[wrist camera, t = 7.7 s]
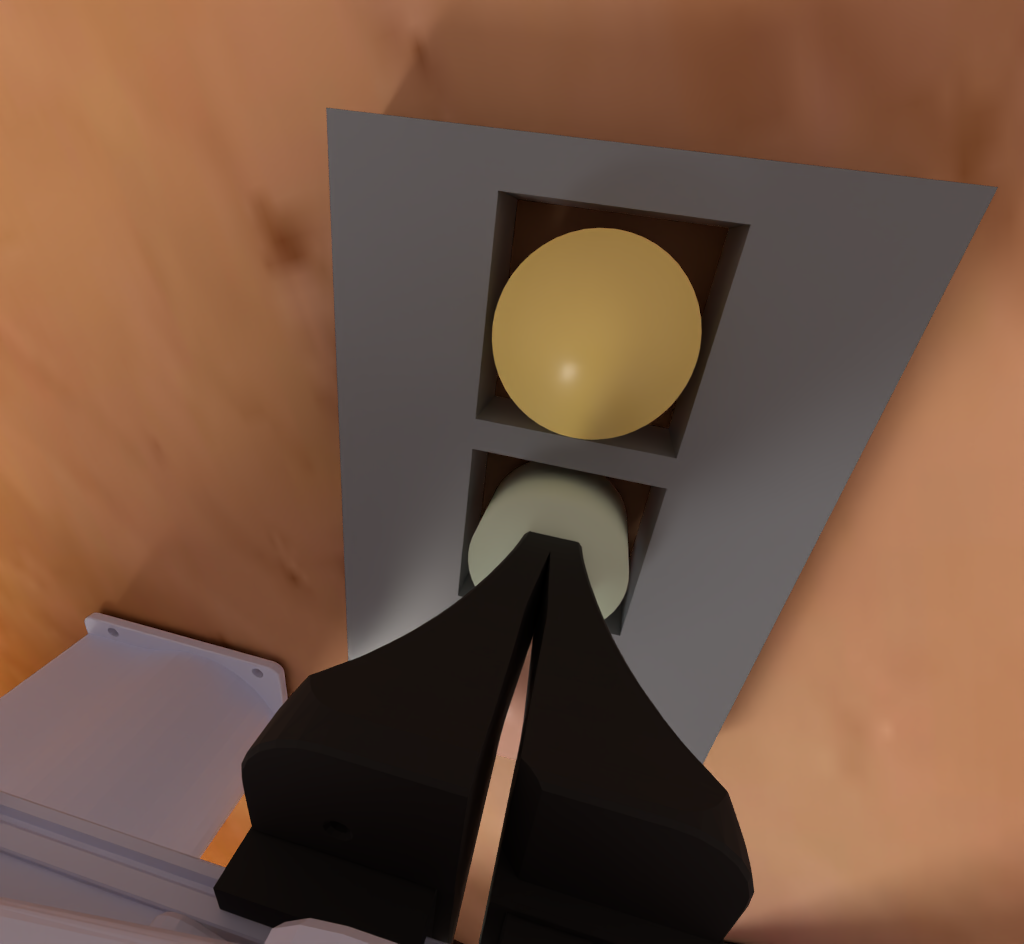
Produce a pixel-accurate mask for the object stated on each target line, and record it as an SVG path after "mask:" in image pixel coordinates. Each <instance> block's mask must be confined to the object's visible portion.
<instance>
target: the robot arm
mask: <svg viewBox="0 0 1024 944" xmlns="http://www.w3.org/2000/svg"><path fill="white" fill-rule="evenodd" d="M84 622H85V626H86V629H87V631H88V634H87V635H86V636H85V637H83V638H82V639H80V640H79V641H78V642H76V643H75V644H74V645H72V646H71V647H70V648H68V649H67V650H65V651H64V652H63V653H61V654H60V655H59V656H57V657H56V658H54V659H53V660H52V661H50V662H49V663H48V664H46V665H45V666H44V667H42V668H41V669H39V670H38V671H37V672H35V673H34V674H33V675H31V676H30V677H29V678H27V679H26V680H24V681H23V682H22V683H20V684H19V685H18V686H16V687H15V688H13V689H12V690H11V691H9V692H8V693H7V694H5V695H4V696H3V697H1V698H0V944H452V943H453V939H454V934H455V930H456V926H457V921H458V917H459V913H460V908H461V904H462V900H463V895H464V891H465V886H466V882H467V878H468V874H469V869H470V865H471V861H472V856H473V852H474V848H475V843H476V839H477V835H478V830H479V826H480V822H481V818H482V813H483V809H484V805H485V800H486V796H487V792H488V788H489V783H490V779H491V775H492V771H493V766H494V762H495V758H496V754H497V749H498V745H499V741H500V737H501V733H502V729H503V726H504V722H505V719H506V715H507V712H508V709H509V706H510V703H511V700H512V697H513V694H514V691H515V688H516V685H517V682H518V679H519V676H520V673H521V670H522V667H523V664H524V661H525V658H526V655H527V652H528V649H529V646H530V643H531V640H532V637H533V640H532V649H531V658H530V666H529V675H528V684H527V693H526V702H525V710H524V719H523V726H522V732H521V739H520V744H519V749H518V754H517V759H516V764H515V769H514V774H513V779H512V783H511V788H510V793H509V798H508V803H507V808H506V813H505V818H504V823H503V828H502V832H501V837H500V842H499V847H498V852H497V857H496V862H495V867H494V872H493V876H492V881H491V886H490V891H489V896H488V901H487V906H486V911H485V916H484V920H483V925H482V930H481V935H480V940H479V944H724V940H723V939H724V937H725V936H726V935H727V933H728V932H729V931H730V929H731V928H732V927H733V925H734V924H735V923H736V921H737V920H738V919H739V918H740V916H741V915H742V914H743V912H744V911H745V910H746V908H747V907H748V905H749V903H750V901H751V898H752V896H753V893H754V887H753V878H752V872H751V867H750V862H749V857H748V853H747V849H746V845H745V842H744V839H743V836H742V832H741V829H740V826H739V823H738V820H737V817H736V814H735V811H734V808H733V805H732V802H731V799H730V797H729V794H728V792H727V791H726V790H725V788H724V787H723V786H722V785H721V784H720V783H719V782H718V781H717V780H716V779H715V777H714V776H713V775H712V774H711V773H710V772H709V771H708V770H707V769H706V768H705V767H704V765H703V764H702V763H701V762H700V761H699V760H698V759H697V758H696V757H695V756H694V755H693V753H692V752H691V751H690V750H689V749H688V748H687V747H686V746H685V744H684V743H683V742H682V741H681V740H680V738H679V737H678V736H677V735H676V733H675V732H674V731H673V730H672V728H671V727H670V726H669V725H668V723H667V722H666V721H665V720H664V718H663V717H662V715H661V714H660V713H659V711H658V710H657V708H656V707H655V706H654V704H653V703H652V701H651V700H650V698H649V697H648V696H647V694H646V693H645V691H644V690H643V689H642V687H641V686H640V684H639V683H638V681H637V679H636V678H635V676H634V674H633V673H632V671H631V670H630V668H629V666H628V665H627V663H626V661H625V659H624V658H623V656H622V654H621V652H620V650H619V649H618V647H617V645H616V643H615V641H614V639H613V637H612V635H611V633H610V631H609V629H608V626H607V624H606V622H605V620H604V618H603V615H602V613H601V611H600V608H599V606H598V603H597V600H596V598H595V595H594V592H593V589H592V587H591V584H590V581H589V577H588V574H587V570H586V567H585V563H584V558H583V552H582V546H581V545H580V543H579V542H576V541H572V540H567V539H562V538H558V537H553V536H549V535H544V534H540V533H536V532H531V531H529V532H527V533H525V534H524V535H523V537H522V538H521V540H520V541H519V542H518V544H517V545H516V546H515V547H514V549H513V550H512V551H511V552H510V553H509V554H508V555H507V557H506V558H505V559H504V560H503V561H502V562H501V563H500V564H499V565H498V566H497V567H496V568H495V569H494V570H493V571H492V572H491V573H490V574H489V575H488V576H487V577H485V578H484V579H483V580H482V581H481V582H480V583H479V584H477V585H476V586H475V587H474V588H473V589H472V590H471V591H469V592H468V593H467V594H466V595H464V596H463V597H462V598H461V599H459V600H458V601H457V602H455V603H454V604H453V605H451V606H450V607H448V608H447V609H446V610H444V611H443V612H441V613H440V614H438V615H437V616H435V617H434V618H432V619H431V620H429V621H427V622H426V623H424V624H423V625H421V626H419V627H418V628H416V629H414V630H413V631H411V632H409V633H407V634H405V635H404V636H402V637H400V638H398V639H396V640H394V641H392V642H390V643H388V644H386V645H384V646H382V647H380V648H378V649H375V650H373V651H371V652H369V653H367V654H365V655H363V656H360V657H358V658H355V659H353V660H350V661H347V662H345V663H342V664H339V665H337V666H334V667H332V668H329V669H326V670H324V671H321V672H318V673H315V674H312V675H310V676H308V677H307V679H306V680H305V681H304V682H303V683H302V684H301V685H300V686H299V687H298V688H297V689H296V691H295V692H294V693H293V694H292V695H291V696H290V697H289V698H288V697H287V689H286V681H285V673H284V670H283V668H282V666H281V665H279V664H278V663H276V662H274V661H271V660H267V659H263V658H260V657H256V656H253V655H249V654H246V653H242V652H238V651H235V650H231V649H228V648H224V647H220V646H217V645H213V644H210V643H206V642H202V641H199V640H195V639H192V638H188V637H184V636H181V635H177V634H174V633H170V632H166V631H163V630H159V629H156V628H152V627H148V626H145V625H141V624H138V623H134V622H130V621H127V620H123V619H120V618H116V617H112V616H109V615H105V614H102V613H92V614H91V615H89V616H88V617H87V618H85V621H84ZM244 793H245V797H246V802H247V806H248V811H249V815H250V820H251V824H252V827H251V829H250V830H249V832H248V833H247V835H246V837H245V838H244V840H243V841H242V843H241V844H240V846H239V848H238V849H237V851H236V852H235V854H234V855H233V857H232V859H231V860H230V862H229V863H228V865H227V867H226V868H225V867H222V866H219V865H216V864H214V863H211V862H208V861H205V860H202V859H200V857H201V856H202V854H203V853H204V851H205V850H206V848H207V847H208V845H209V844H210V843H211V841H212V840H213V838H214V837H215V835H216V834H217V832H218V831H219V829H220V828H221V827H222V825H223V824H224V822H225V821H226V819H227V818H228V816H229V815H230V813H231V812H232V810H233V809H234V808H235V806H236V805H237V803H238V802H239V800H240V799H241V797H242V796H243V794H244Z"/></svg>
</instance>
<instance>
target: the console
mask: <svg viewBox="0 0 1024 944" xmlns="http://www.w3.org/2000/svg"><path fill="white" fill-rule="evenodd" d="M326 109H327V134H328V159H329V185H330V210H331V235H332V260H333V286H334V311H335V336H336V361H337V387H338V412H339V437H340V462H341V488H342V513H343V538H344V563H345V589H346V614H347V639H348V661H350V660H353V659H355V658H358V657H360V656H363V655H365V654H367V653H369V652H371V651H373V650H375V649H378V648H380V647H382V646H384V645H386V644H388V643H390V642H392V641H394V640H396V639H398V638H400V637H402V636H404V635H405V634H407V633H409V632H411V631H413V630H414V629H416V628H418V627H419V626H421V625H423V624H424V623H426V622H427V621H429V620H431V619H432V618H434V617H435V616H437V615H438V614H440V613H441V612H443V611H444V610H446V609H447V608H448V607H450V606H451V605H453V604H454V603H455V602H457V601H458V600H459V599H461V598H462V597H463V596H464V595H466V594H467V593H468V592H469V591H471V590H472V589H473V588H474V587H475V585H474V583H473V580H472V578H471V575H470V571H469V565H468V551H469V546H470V543H471V540H472V537H473V535H474V533H475V531H476V529H477V527H478V525H479V523H480V517H481V509H482V500H483V492H484V483H485V474H486V466H487V457H488V452H491V453H496V454H500V455H505V456H510V457H515V458H520V459H525V460H530V461H535V462H539V463H544V464H549V465H554V466H559V467H564V468H569V469H573V470H578V471H583V472H588V473H593V474H598V475H603V476H607V477H612V478H617V479H622V480H627V481H632V482H637V483H641V484H646V485H651V489H650V492H649V496H648V499H647V502H646V506H645V509H644V512H643V516H642V519H641V522H640V526H639V529H638V532H637V536H636V539H635V542H634V546H633V549H632V552H631V556H630V559H629V581H628V586H627V590H626V593H625V595H624V598H623V599H622V601H621V603H620V604H619V606H618V607H617V608H616V609H615V610H614V612H613V613H611V614H610V615H609V616H608V617H607V618H606V619H604V620H605V622H606V624H607V626H608V629H609V631H610V633H611V635H612V637H613V639H614V641H615V643H616V645H617V647H618V649H619V650H620V652H621V654H622V656H623V658H624V659H625V661H626V663H627V665H628V666H629V668H630V670H631V671H632V673H633V674H634V676H635V678H636V679H637V681H638V683H639V684H640V686H641V687H642V689H643V690H644V691H645V693H646V694H647V696H648V697H649V698H650V700H651V701H652V703H653V704H654V706H655V707H656V708H657V710H658V711H659V713H660V714H661V715H662V717H663V718H664V720H665V721H666V722H667V723H668V725H669V726H670V727H671V728H672V730H673V731H674V732H675V733H676V735H677V736H678V737H679V738H680V740H681V741H682V742H683V743H684V744H685V746H686V747H687V748H688V749H689V750H690V751H691V752H692V753H693V755H694V756H695V757H696V758H697V759H698V760H699V761H700V762H701V763H702V764H703V762H704V760H705V759H706V757H707V755H708V753H709V751H710V749H711V747H712V745H713V743H714V741H715V739H716V737H717V735H718V733H719V731H720V729H721V727H722V725H723V723H724V721H725V719H726V718H727V716H728V714H729V712H730V710H731V708H732V706H733V704H734V702H735V700H736V698H737V696H738V694H739V692H740V690H741V688H742V686H743V684H744V682H745V680H746V678H747V676H748V675H749V673H750V671H751V669H752V667H753V665H754V663H755V661H756V659H757V657H758V655H759V653H760V651H761V649H762V647H763V645H764V643H765V641H766V639H767V637H768V635H769V634H770V632H771V630H772V628H773V626H774V624H775V622H776V620H777V618H778V616H779V614H780V612H781V610H782V608H783V606H784V604H785V602H786V600H787V598H788V596H789V594H790V592H791V591H792V589H793V587H794V585H795V583H796V581H797V579H798V577H799V575H800V573H801V571H802V569H803V567H804V565H805V563H806V561H807V559H808V557H809V555H810V553H811V551H812V550H813V548H814V546H815V544H816V542H817V540H818V538H819V536H820V534H821V532H822V530H823V528H824V526H825V524H826V522H827V520H828V518H829V516H830V514H831V512H832V510H833V508H834V507H835V505H836V503H837V501H838V499H839V497H840V495H841V493H842V491H843V489H844V487H845V485H846V483H847V481H848V479H849V477H850V475H851V473H852V471H853V469H854V467H855V465H856V464H857V462H858V460H859V458H860V456H861V454H862V452H863V450H864V448H865V446H866V444H867V442H868V440H869V438H870V436H871V434H872V432H873V430H874V428H875V426H876V424H877V423H878V421H879V419H880V417H881V415H882V413H883V411H884V409H885V407H886V405H887V403H888V401H889V399H890V397H891V395H892V393H893V391H894V389H895V387H896V385H897V383H898V381H899V380H900V378H901V376H902V374H903V372H904V370H905V368H906V366H907V364H908V362H909V360H910V358H911V356H912V354H913V352H914V350H915V348H916V346H917V344H918V342H919V340H920V339H921V337H922V335H923V333H924V331H925V329H926V327H927V325H928V323H929V321H930V319H931V317H932V315H933V313H934V311H935V309H936V307H937V305H938V303H939V301H940V299H941V297H942V296H943V294H944V292H945V290H946V288H947V286H948V284H949V282H950V280H951V278H952V276H953V274H954V272H955V270H956V268H957V266H958V264H959V262H960V260H961V258H962V256H963V255H964V253H965V251H966V249H967V247H968V245H969V243H970V241H971V239H972V237H973V235H974V233H975V231H976V229H977V227H978V225H979V223H980V221H981V219H982V217H983V215H984V213H985V212H986V210H987V208H988V206H989V204H990V202H991V200H992V198H993V196H994V194H995V192H996V190H997V188H998V187H992V186H983V185H975V184H967V183H958V182H950V181H941V180H933V179H924V178H916V177H907V176H899V175H890V174H882V173H874V172H865V171H857V170H848V169H840V168H831V167H823V166H814V165H806V164H797V163H789V162H780V161H772V160H764V159H755V158H747V157H738V156H730V155H721V154H713V153H704V152H696V151H687V150H679V149H671V148H662V147H654V146H645V145H637V144H628V143H620V142H611V141H603V140H594V139H586V138H577V137H569V136H561V135H552V134H544V133H535V132H527V131H518V130H510V129H501V128H493V127H484V126H476V125H468V124H459V123H451V122H442V121H434V120H425V119H417V118H408V117H400V116H391V115H383V114H374V113H366V112H358V111H349V110H341V109H332V108H326ZM518 199H519V200H527V201H534V202H541V203H549V204H556V205H563V206H571V207H578V208H585V209H593V210H600V211H607V212H615V213H622V214H629V215H637V216H644V217H651V218H659V219H666V220H673V221H681V222H688V223H695V224H702V225H710V226H717V227H724V228H729V229H728V232H727V236H726V239H725V242H724V246H723V249H722V252H721V256H720V259H719V262H718V266H717V269H716V272H715V276H714V279H713V282H712V286H711V289H710V292H709V296H708V299H707V302H706V306H705V309H704V312H703V316H702V319H701V330H702V334H701V344H700V350H699V355H698V359H697V362H696V365H695V368H694V370H693V373H692V375H691V377H690V379H689V381H688V383H687V385H686V387H685V388H684V390H683V391H682V392H681V394H680V395H679V397H678V399H677V402H676V406H675V409H674V412H673V416H672V419H671V422H670V426H669V429H667V428H662V427H657V426H652V425H646V426H644V427H642V428H640V429H638V430H636V431H633V432H631V433H628V434H625V435H622V436H618V437H613V438H608V439H599V440H587V439H578V438H572V437H568V436H564V435H560V434H558V433H555V432H553V431H550V430H548V429H546V428H545V427H543V426H541V425H539V424H538V423H536V422H535V421H533V420H532V419H531V418H529V417H528V416H527V415H526V414H525V413H524V412H523V411H522V410H521V409H520V408H519V407H518V406H517V405H516V404H515V402H514V401H513V400H512V399H510V398H504V397H499V396H495V389H496V380H497V372H498V371H497V368H496V365H495V361H494V356H493V348H492V326H493V320H494V315H495V311H496V307H497V304H498V301H499V298H500V296H501V294H502V292H503V289H504V287H505V285H506V284H507V282H508V277H509V269H510V260H511V252H512V243H513V234H514V226H515V217H516V209H517V200H518Z"/></svg>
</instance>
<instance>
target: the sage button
mask: <svg viewBox="0 0 1024 944" xmlns="http://www.w3.org/2000/svg"><path fill="white" fill-rule="evenodd" d="M529 531H531V532H536V533H540V534H544V535H549V536H553V537H558V538H562V539H567V540H572V541H576V542H579V543H580V545H581V546H582V552H583V558H584V563H585V567H586V570H587V574H588V577H589V581H590V584H591V587H592V589H593V592H594V595H595V598H596V600H597V603H598V606H599V608H600V611H601V613H602V615H603V618H604V619H606V618H607V617H608V616H609V615H610V614H611V613H613V612H614V610H615V609H616V608H617V607H618V606H619V604H620V603H621V601H622V599H623V598H624V595H625V593H626V590H627V586H628V581H629V558H628V523H627V512H626V509H625V505H624V502H623V500H622V498H621V496H620V494H619V493H618V491H617V489H616V488H615V487H614V486H613V485H612V483H611V482H610V481H609V480H608V479H607V478H606V477H604V476H603V475H598V474H593V473H588V472H583V471H578V470H573V469H569V468H564V467H559V466H554V465H549V464H544V463H539V462H535V461H532V462H529V463H526V464H524V465H522V466H520V467H518V468H516V469H515V470H513V471H512V472H511V473H509V474H508V475H507V476H506V477H505V478H504V479H503V481H502V482H501V483H500V484H499V486H498V488H497V490H496V491H495V493H494V495H493V497H492V499H491V501H490V503H489V505H488V507H487V509H486V511H485V513H484V515H483V517H482V519H481V521H480V523H479V525H478V527H477V529H476V531H475V533H474V535H473V537H472V540H471V543H470V546H469V551H468V565H469V571H470V575H471V578H472V580H473V583H474V585H475V586H476V585H477V584H479V583H480V582H481V581H482V580H483V579H484V578H485V577H487V576H488V575H489V574H490V573H491V572H492V571H493V570H494V569H495V568H496V567H497V566H498V565H499V564H500V563H501V562H502V561H503V560H504V559H505V558H506V557H507V555H508V554H509V553H510V552H511V551H512V550H513V549H514V547H515V546H516V545H517V544H518V542H519V541H520V540H521V538H522V537H523V535H524V534H525V533H527V532H529Z"/></svg>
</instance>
